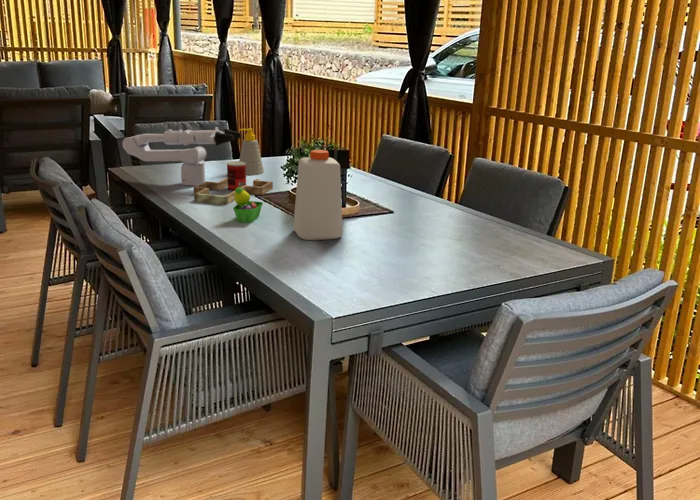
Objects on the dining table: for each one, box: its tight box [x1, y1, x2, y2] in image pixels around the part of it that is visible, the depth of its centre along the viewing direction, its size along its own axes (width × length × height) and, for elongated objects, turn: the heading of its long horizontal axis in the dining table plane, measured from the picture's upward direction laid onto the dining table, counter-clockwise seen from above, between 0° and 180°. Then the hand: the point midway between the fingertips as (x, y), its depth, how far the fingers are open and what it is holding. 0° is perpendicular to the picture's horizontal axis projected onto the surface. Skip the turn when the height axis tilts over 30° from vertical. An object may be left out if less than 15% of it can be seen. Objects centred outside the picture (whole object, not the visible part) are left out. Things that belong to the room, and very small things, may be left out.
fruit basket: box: [232, 187, 264, 223], centre depth 235 cm, size 11×9×11 cm
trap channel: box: [193, 177, 274, 206], centre depth 270 cm, size 26×34×3 cm
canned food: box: [226, 160, 247, 192], centre depth 277 cm, size 8×8×11 cm
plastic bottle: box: [292, 149, 343, 241], centre depth 218 cm, size 15×15×28 cm
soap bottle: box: [238, 128, 265, 176], centre depth 308 cm, size 12×12×20 cm
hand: (237, 136), depth 273 cm, fingers open, 7 cm apart
